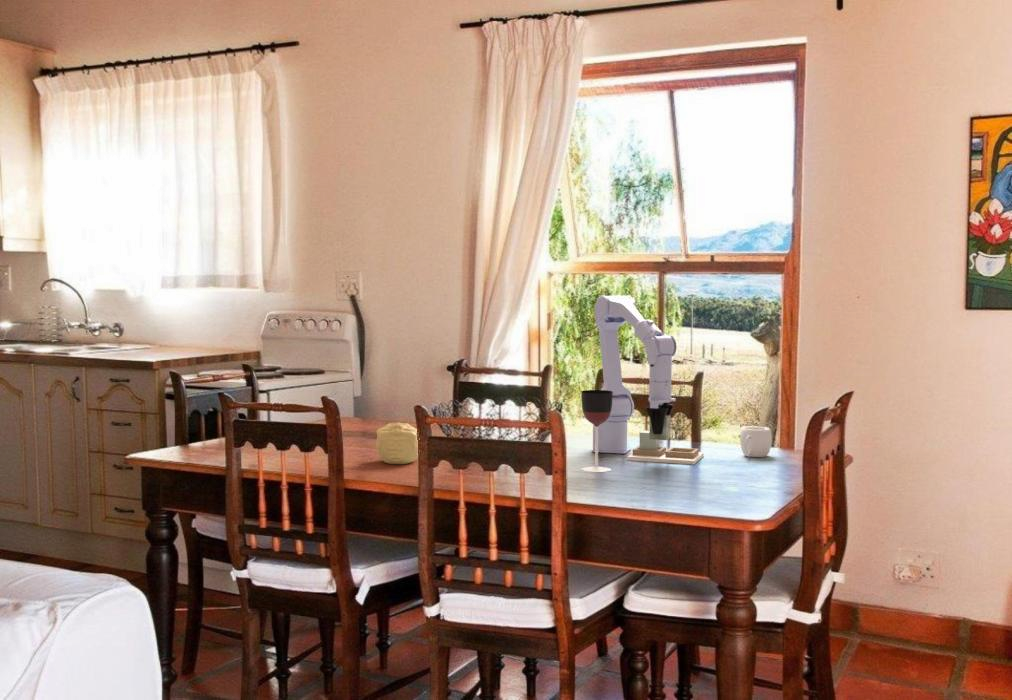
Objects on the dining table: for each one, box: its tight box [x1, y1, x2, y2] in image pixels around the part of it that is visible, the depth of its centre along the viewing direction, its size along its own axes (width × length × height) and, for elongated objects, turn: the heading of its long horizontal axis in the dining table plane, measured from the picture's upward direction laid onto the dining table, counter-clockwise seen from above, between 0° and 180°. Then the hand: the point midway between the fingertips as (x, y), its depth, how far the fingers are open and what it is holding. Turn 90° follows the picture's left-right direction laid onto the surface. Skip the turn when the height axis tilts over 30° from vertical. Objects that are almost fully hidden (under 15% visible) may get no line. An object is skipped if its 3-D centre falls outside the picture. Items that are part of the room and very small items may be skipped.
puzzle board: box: [626, 430, 704, 465], centre depth 284 cm, size 18×14×7 cm
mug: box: [739, 425, 773, 458], centre depth 286 cm, size 12×8×8 cm
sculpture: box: [375, 421, 419, 465], centre depth 277 cm, size 12×12×11 cm
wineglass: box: [580, 389, 614, 473], centre depth 267 cm, size 8×9×20 cm
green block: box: [648, 414, 671, 441], centre depth 274 cm, size 4×4×6 cm
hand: (659, 432), depth 274 cm, fingers closed on green block, 4 cm apart
